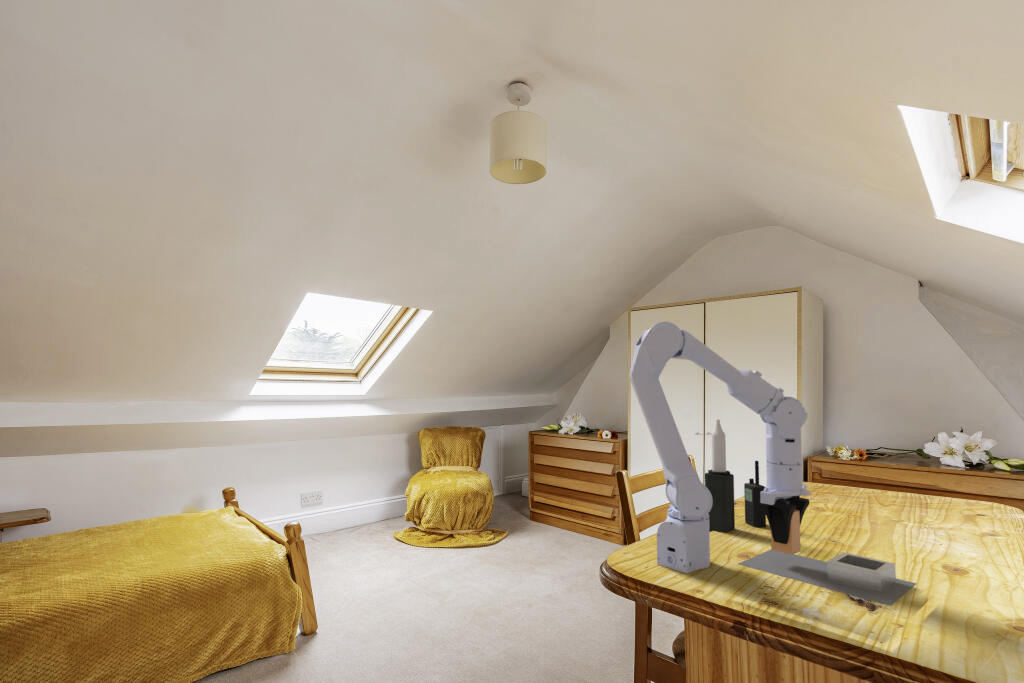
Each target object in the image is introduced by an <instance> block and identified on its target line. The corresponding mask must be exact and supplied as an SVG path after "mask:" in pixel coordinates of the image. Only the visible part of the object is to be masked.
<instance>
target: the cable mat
mask: <svg viewBox="0 0 1024 683" xmlns="http://www.w3.org/2000/svg"><path fill="white" fill-rule="evenodd" d="M737 565H740V566H743V567H747V568H751V569H754V570H758V571H762V572H764V573H765V572H766V573H768V574H771V575H776V576H780V577H784V578H787V579H791V580H794V581H798V582H801V583H805V584H809V585H813V586H816V587H820V588H824V589H827V590H831V591H835V592H838V593H843V594H845V595H849V596H853V597H857V598H859V599H864V600H866V601H867V600H868V601H870V602H875V603H878V604H882V605H886V606H889V607H891V606H892V605H893V604H895V603H896V602H897V601H898V600H899V599H900V598H902V597H903V596H904V595H906V594H907V592H909V591H910V590H911V589H912V588H913V587H914V586H915V585H916V584H917V582H913V581H908V580H905V579H904V580H903V579H900V578H896V583H895V584H893V585H892V586H891V587H889V588H888V589H887V590H886V591H884V592H883V593H882V594H881V593H877V592H873V591H869V590H865V589H862V588H858V587H854V586H850V585H846V584H842V583H839V582H835V581H831V580H828V566H827V561H824V560H820V559H817V558H812V557H807V556H804V555H799V554H797V553H795V554H788V553H783V552H779V551H775V550H772V548H771V549H769V550H767V551H764V552H762V553H759V554H757V555H754V556H752V557H750V558H747V559H745V560H743V561H741V562H739V563H737Z"/></svg>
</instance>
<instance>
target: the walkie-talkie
mask: <svg viewBox="0 0 1024 683" xmlns="http://www.w3.org/2000/svg"><path fill="white" fill-rule="evenodd" d="M759 462H760V461H759V460H755V461H754V475H755V476H754V477H755V479H754V478H749V482H745V483H744V484H743V485H744V486H743V487H744V489H743V491H744V521H745V522H744V523H745V524H748V525H749V526H752V527H755V528H766V527H767V517H766V514H765V512H764V510H763V509H762V507H761V506H760V499H761V495H760V492H761V491H764V489H765V487H766V485H762V484H760V470H759V469H760V467H759V465H760V464H759Z"/></svg>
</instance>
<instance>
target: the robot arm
mask: <svg viewBox="0 0 1024 683" xmlns="http://www.w3.org/2000/svg"><path fill="white" fill-rule="evenodd" d="M671 359H674V360H687V361H690V362H692V363H694V364H695V365H697V366H698V367H700V368H702V369H703V370H704V371H706V372H708V373H709V374H711V375H712V376H714V378H717V379H718V380H720V381H721V382H723V383H725V384H726V387H727V392H728V395H730V396H731V397H732V398H734V399H736V400H737V401H739V402H740V403H741V404H743V405H744V406H746V407H747V408H748V409H749V410H751V411H753V412H754V413H756V414H757V415H759V416H760V418H761V421H762V422H763V423H764V424H765V453H766V454H765V456H766V457H765V459H766V460H765V461H766V466H765V468H766V485H765V489H764V491H761V492H760V495H761V499H760V506H761V507H762V509H763V510H764V512H765V514H766V520H767V521H768V524H769V528H770V532H771V533H772V536H773V540H774V542H778V543H782V544H787V543H788V539H789V532H790V523H791V519H792V515H793V513H794V511H795V510H799V511H800V526H801V525H802V521H803V517H804V515H805V512H806V510H807V508H808V507H809V505H810V499H808V498H806V497H807V496H810V495H811V492H810V490H808V487H807V486H808V485H807V484H806V483H803V457H802V456H803V455H802V454H803V453H802V452H803V451H802V427H803V426H804V424H805V423H806V422H807V419H808V412H806V410H805V407H803V404H802V402H801V401H800V400H798V399H797V398H795V397H793V396H784V395H785V394H784V393H785V390H784V388H783V389H782V387H776V386H774V385H772V384H771V383H769V382H768V381H766V380H765V379H764V378H762V375H763V374H762V372H760V371H759V370H753V371H752V370H751V369H748V368H746V369H740V370H739V369H737V368H736V367H735V366H733V365H732V364H731V363H729V362H728V361H727V360H726V359H724V358H722V356H720V355H719V354H718V353H716V352H715V351H713V349H711V348H710V347H708V346H707V345H706V344H704V343H703V342H701V340H699V339H698V338H696V336H694V335H692V334H691V333H690V332H689V331H686V330H685V329H680V327H679V326H678V325H676V324H675V323H673V322H670V321H660V322H657V323H656V324H653V325H652V326H651V327H649V328H647V329H645V330H644V331H643V332H642V334H641V335H640V337H639V339H637V341H636V343H635V345H634V353H633V358H632V361H631V366H630V371H629V380H630V382H631V384H632V387H633V390H634V393H635V395H636V398H637V401H638V403H639V406H640V409H641V412H642V414H643V416H644V419H645V423H646V424H647V428H648V430H649V433H650V436H651V438H652V441H653V444H654V447H655V449H656V451H657V454H658V457H659V459H660V462H661V464H662V470H663V476H664V479H665V489H664V491H665V496H666V498H667V500H668V502H670V505H669V507H668V509H667V514H666V518H665V520H664V521H663V522H661V523H660V524H659V526H658V527H657V531H656V563H657V565H659V566H661V567H665V568H667V569H672V570H675V571H677V572H681V573H684V574H689V573H692V572H694V571H698V570H702V569H708V568H709V567H710V566H711V553H710V552H711V550H710V549H711V546H710V545H711V542H710V538H711V537H710V533H711V532H709V514H708V513H709V512H710V510H711V508H712V504H713V499H712V495H711V493H710V491H709V490H708V488H707V487H705V484H704V483H702V481H701V479H700V477H699V474H698V472H697V471H696V469H695V467H694V466H693V464H692V462H691V460H690V458H689V455H688V452H687V450H686V447H685V444H684V443H683V440H682V437H681V435H680V432H679V429H678V427H677V424H676V421H675V419H674V416H673V414H672V410H671V408H670V406H669V402H668V400H667V398H666V395H665V392H664V390H663V387H662V384H661V382H660V379H659V378H660V377H661V374H662V372H663V371H664V368H665V367H666V365H667V363H668V361H670V360H671ZM800 496H802V497H800ZM804 496H805V498H804ZM784 500H787V501H789V504H786V502H785V501H784Z"/></svg>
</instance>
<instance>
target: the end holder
mask: <svg viewBox="0 0 1024 683" xmlns="http://www.w3.org/2000/svg"><path fill="white" fill-rule="evenodd" d="M826 562H827V566H828V580H831V581H835V582H839V583H842V584H846V585H850V586H854V587H858V588H862V589H865V590H869V591H873V592H877V593H881V594H882V593H883V592H884V591H886V590H887V589H888V588H889V587H891V586H892V585H893V584H895V583H896V579H897V578H896V576H897V575H896V563H894V562H891V561H885V560H881V559H875V558H872V557H866V556H863V555H859V554H858V555H857V554H853V553H849V552H844V551H843V552H841V553H839V554H837V555H836V556H834V557H832V558H830V559H829V560H828V559H827V561H826Z"/></svg>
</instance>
